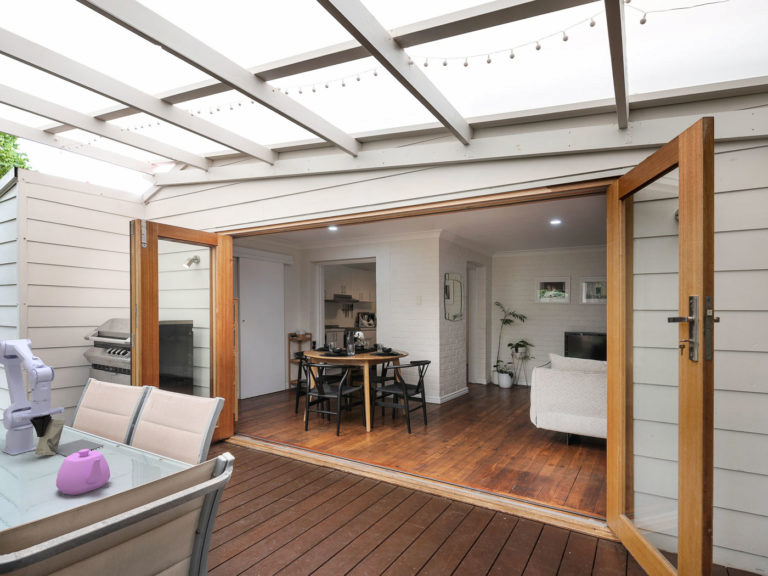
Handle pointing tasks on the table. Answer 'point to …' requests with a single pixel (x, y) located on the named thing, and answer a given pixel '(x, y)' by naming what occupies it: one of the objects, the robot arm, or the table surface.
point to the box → (50, 438)
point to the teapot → (82, 472)
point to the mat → (76, 447)
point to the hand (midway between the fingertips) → (40, 436)
